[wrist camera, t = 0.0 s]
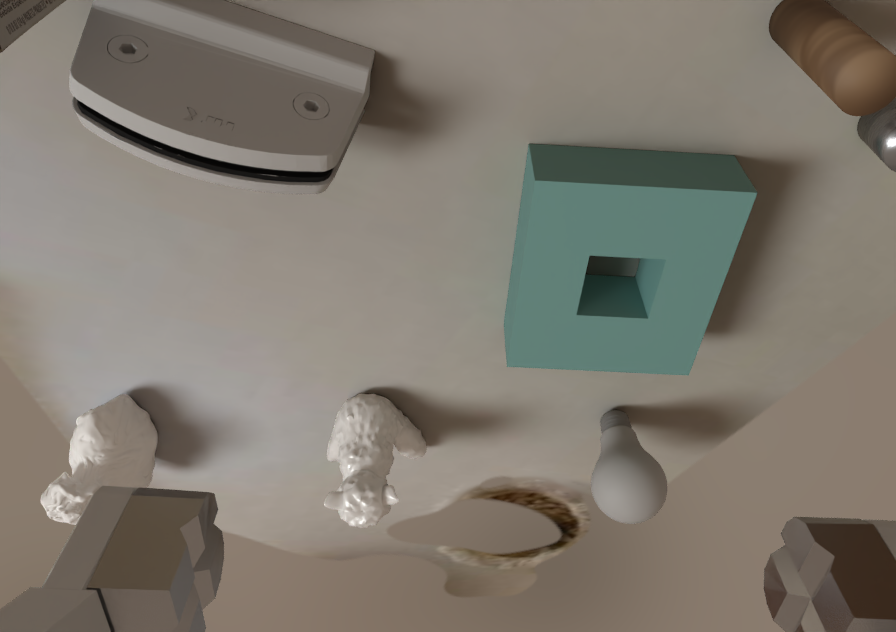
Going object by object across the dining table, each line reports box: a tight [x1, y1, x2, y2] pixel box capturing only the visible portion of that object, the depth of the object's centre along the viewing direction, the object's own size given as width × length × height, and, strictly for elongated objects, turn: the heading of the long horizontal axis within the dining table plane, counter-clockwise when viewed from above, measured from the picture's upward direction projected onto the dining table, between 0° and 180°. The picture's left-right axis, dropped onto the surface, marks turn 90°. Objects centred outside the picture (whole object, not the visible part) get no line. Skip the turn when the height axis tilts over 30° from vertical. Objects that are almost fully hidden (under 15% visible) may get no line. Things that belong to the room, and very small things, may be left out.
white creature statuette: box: [324, 394, 427, 528], centre depth 62 cm, size 10×9×12 cm
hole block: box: [504, 144, 757, 375], centre depth 52 cm, size 16×14×5 cm
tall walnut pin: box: [769, 0, 896, 116], centre depth 39 cm, size 3×3×10 cm
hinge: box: [69, 0, 375, 194], centre depth 42 cm, size 17×5×10 cm, turn 71°
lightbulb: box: [591, 410, 667, 524], centre depth 61 cm, size 6×6×11 cm
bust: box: [41, 394, 158, 525], centre depth 64 cm, size 12×8×11 cm
